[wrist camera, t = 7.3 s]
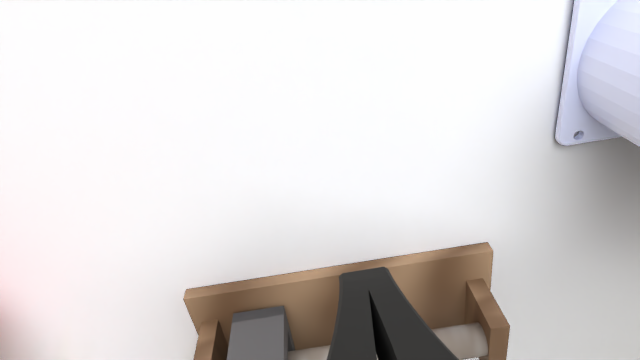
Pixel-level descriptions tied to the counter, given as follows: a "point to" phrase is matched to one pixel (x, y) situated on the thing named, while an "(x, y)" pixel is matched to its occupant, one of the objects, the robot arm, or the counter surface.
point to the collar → (260, 335)
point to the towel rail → (323, 295)
